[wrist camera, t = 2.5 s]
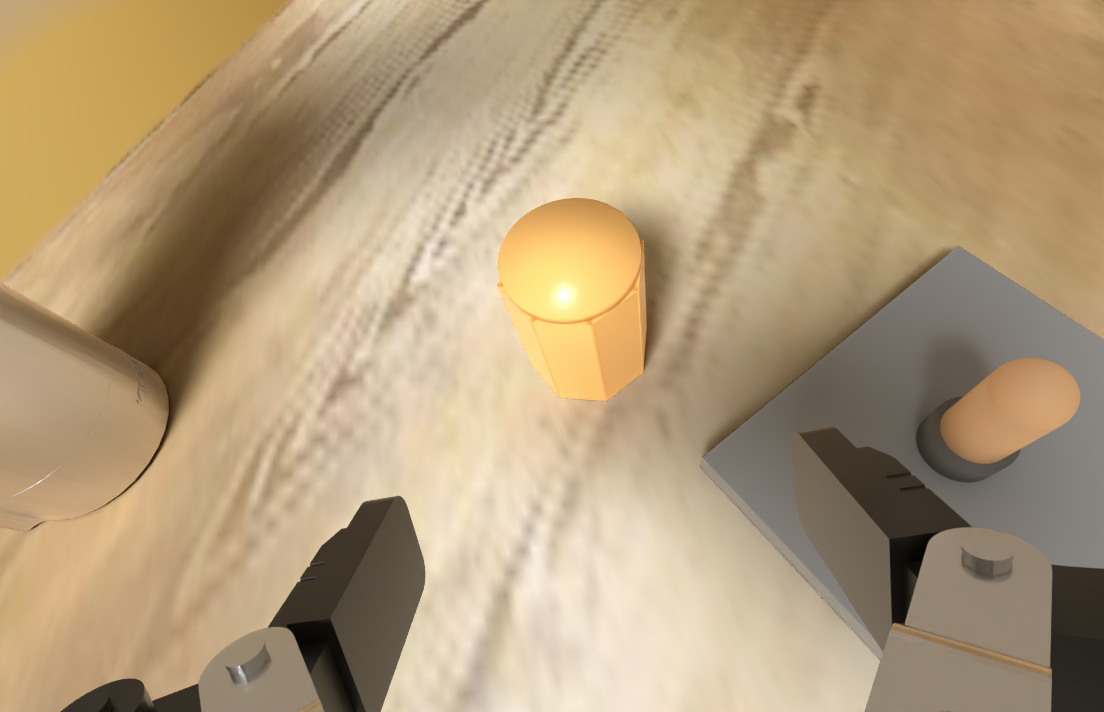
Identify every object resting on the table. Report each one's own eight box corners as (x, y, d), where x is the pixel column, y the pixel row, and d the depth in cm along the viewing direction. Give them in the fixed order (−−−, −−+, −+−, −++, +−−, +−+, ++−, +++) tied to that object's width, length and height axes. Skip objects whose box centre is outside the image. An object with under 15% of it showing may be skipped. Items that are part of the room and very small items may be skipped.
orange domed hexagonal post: (579, 422, 28) (553, 344, 21) (513, 344, 31) (470, 252, 24) (669, 352, 29) (673, 256, 22) (597, 282, 31) (580, 175, 24)
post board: (937, 721, 21) (1078, 755, 14) (700, 467, 26) (715, 399, 19) (1213, 444, 23) (1448, 356, 16) (944, 264, 29) (1035, 140, 22)
